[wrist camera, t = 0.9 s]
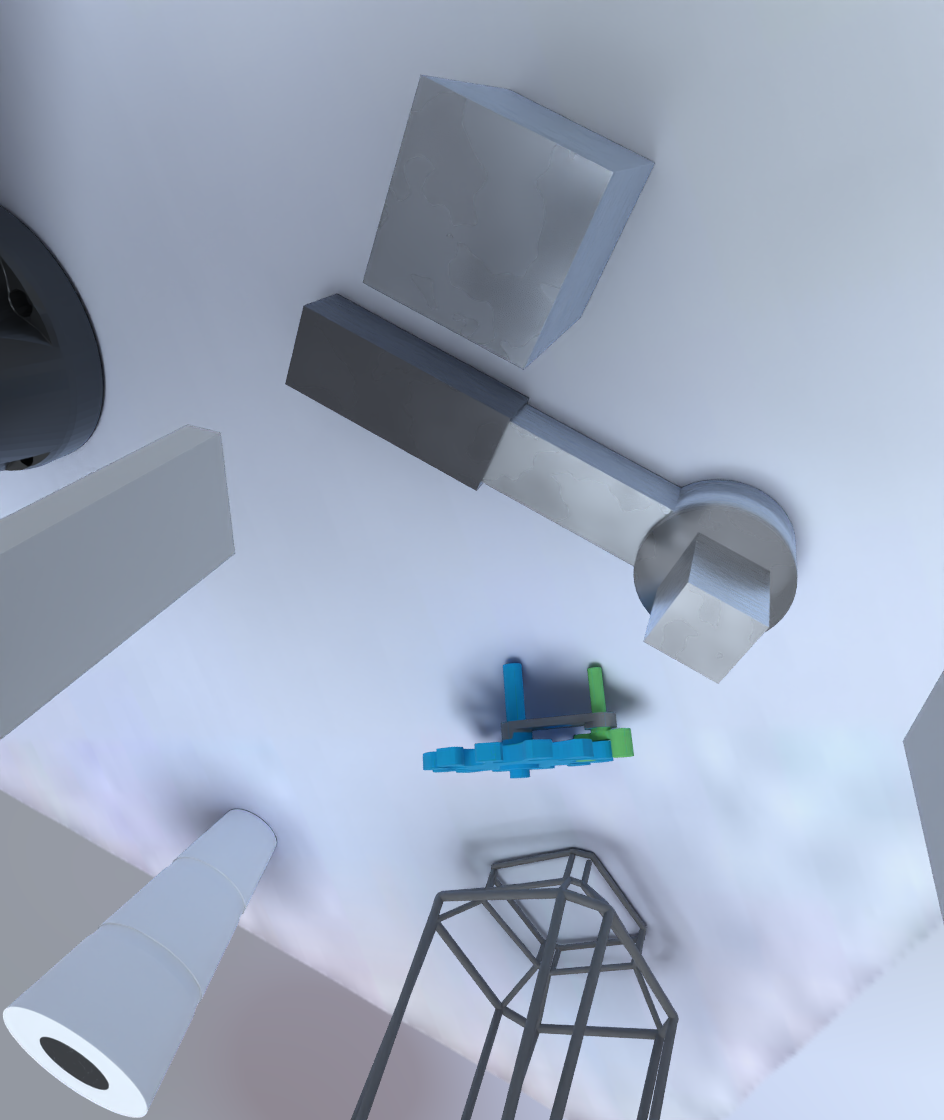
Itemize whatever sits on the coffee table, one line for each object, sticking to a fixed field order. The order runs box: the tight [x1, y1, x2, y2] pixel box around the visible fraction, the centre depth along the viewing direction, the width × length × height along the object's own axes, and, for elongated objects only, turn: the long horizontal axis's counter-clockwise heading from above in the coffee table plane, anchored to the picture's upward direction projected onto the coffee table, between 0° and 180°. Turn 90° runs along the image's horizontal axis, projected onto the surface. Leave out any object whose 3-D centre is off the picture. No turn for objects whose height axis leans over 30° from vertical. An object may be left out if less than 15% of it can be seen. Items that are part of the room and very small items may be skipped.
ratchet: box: [285, 294, 797, 684], centre depth 30 cm, size 24×6×7 cm, turn 68°
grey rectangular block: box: [363, 75, 655, 369], centre depth 24 cm, size 6×6×8 cm
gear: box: [423, 663, 634, 778], centre depth 38 cm, size 11×6×10 cm
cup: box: [3, 809, 277, 1118], centre depth 51 cm, size 11×11×18 cm
